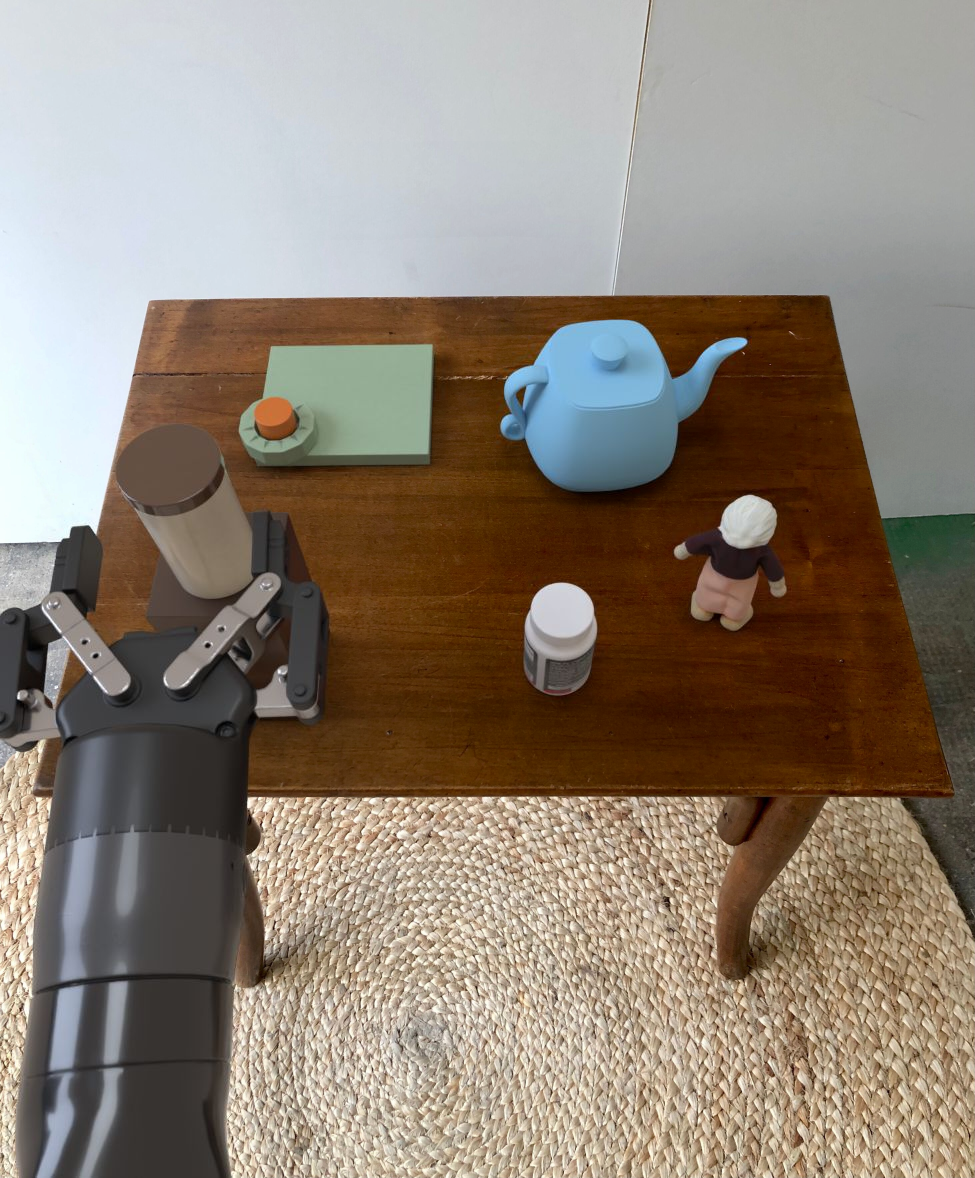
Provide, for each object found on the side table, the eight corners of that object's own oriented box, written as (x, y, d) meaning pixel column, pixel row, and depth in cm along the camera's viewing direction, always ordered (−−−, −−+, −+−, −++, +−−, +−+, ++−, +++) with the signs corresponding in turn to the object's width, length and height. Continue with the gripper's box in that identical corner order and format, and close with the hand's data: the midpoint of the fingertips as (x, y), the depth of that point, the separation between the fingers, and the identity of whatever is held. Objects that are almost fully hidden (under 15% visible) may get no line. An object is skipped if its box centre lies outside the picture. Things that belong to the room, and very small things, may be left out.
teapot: (771, 398, 62) (511, 422, 61) (736, 491, 71) (509, 513, 71) (727, 273, 68) (490, 293, 68) (700, 373, 78) (491, 391, 77)
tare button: (256, 440, 71) (251, 426, 70) (261, 411, 73) (256, 396, 71) (294, 440, 71) (290, 425, 70) (298, 411, 73) (294, 396, 71)
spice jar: (155, 568, 51) (92, 469, 43) (221, 511, 53) (173, 406, 45) (215, 617, 49) (161, 524, 41) (281, 556, 51) (242, 456, 43)
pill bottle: (602, 656, 64) (615, 598, 57) (569, 709, 62) (577, 656, 55) (544, 625, 66) (550, 564, 58) (510, 675, 64) (511, 619, 56)
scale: (244, 476, 73) (234, 452, 70) (263, 357, 79) (255, 331, 77) (429, 474, 73) (427, 450, 70) (434, 355, 79) (431, 329, 76)
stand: (218, 720, 62) (144, 616, 49) (234, 630, 66) (168, 511, 53) (320, 721, 62) (272, 617, 49) (330, 630, 66) (288, 511, 53)
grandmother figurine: (768, 594, 67) (820, 492, 56) (764, 640, 65) (817, 544, 54) (663, 575, 68) (695, 471, 57) (657, 619, 66) (688, 520, 55)
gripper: (310, 822, 33) (310, 466, 41) (-91, 862, 32) (-11, 493, 40) (342, 869, 39) (336, 554, 47) (8, 904, 39) (60, 579, 47)
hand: (176, 526), depth 44 cm, fingers open, 8 cm apart
